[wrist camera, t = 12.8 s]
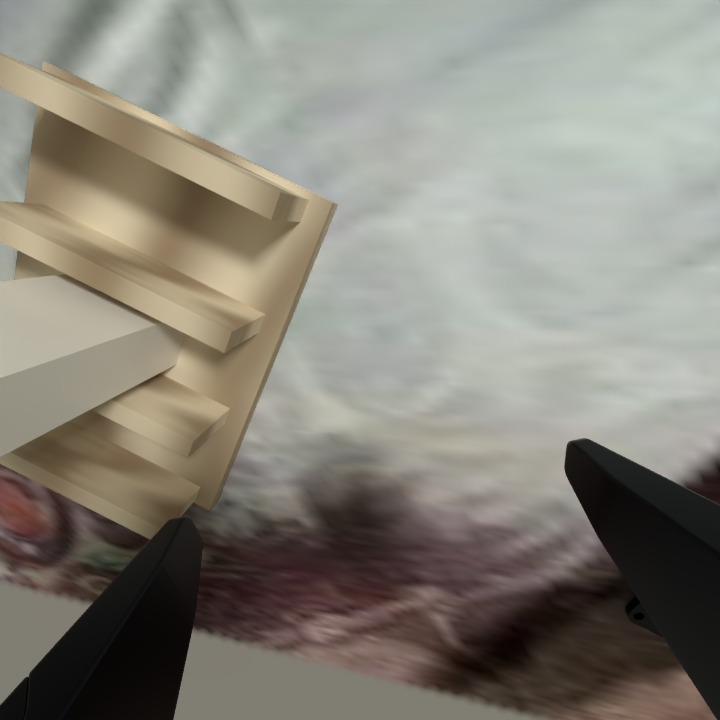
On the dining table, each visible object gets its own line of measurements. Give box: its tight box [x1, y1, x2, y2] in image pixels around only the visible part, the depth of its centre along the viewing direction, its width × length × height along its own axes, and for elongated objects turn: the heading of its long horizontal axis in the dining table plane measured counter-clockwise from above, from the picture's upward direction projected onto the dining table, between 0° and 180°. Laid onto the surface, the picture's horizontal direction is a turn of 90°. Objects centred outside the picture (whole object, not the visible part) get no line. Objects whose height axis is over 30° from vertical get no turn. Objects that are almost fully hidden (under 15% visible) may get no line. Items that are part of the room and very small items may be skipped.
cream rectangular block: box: [0, 274, 185, 457], centre depth 14 cm, size 5×3×13 cm, turn 66°
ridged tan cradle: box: [0, 53, 338, 540], centre depth 19 cm, size 14×18×4 cm
